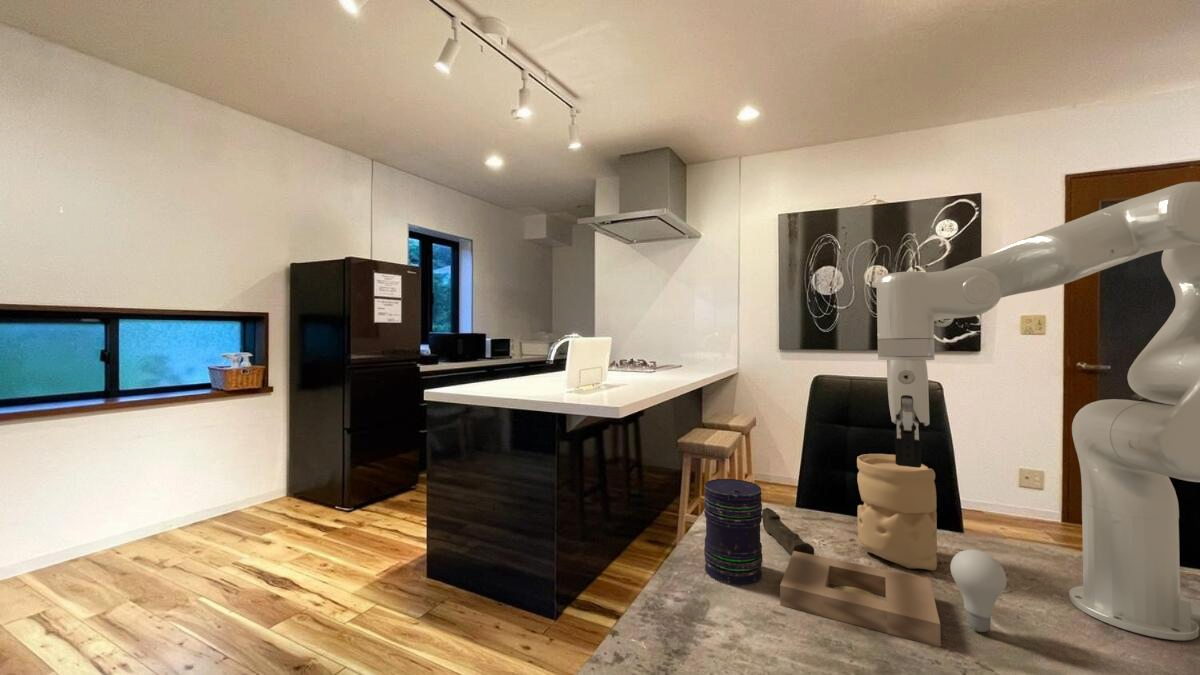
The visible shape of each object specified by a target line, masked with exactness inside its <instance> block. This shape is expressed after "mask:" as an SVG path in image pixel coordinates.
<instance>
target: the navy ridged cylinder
mask: <svg viewBox="0 0 1200 675" xmlns="http://www.w3.org/2000/svg"><path fill="white" fill-rule="evenodd" d="M704 490H705V491H704V500H703V504H704V506H703V507H704V511H703V512H704V518H705V537H704V547H703V548H704V549H703V550H704V551H703V554H704V561H705V565H704V571H706V572H705V573H706V575H707V574H708V575H709V576H710V578H711V579H712V578H713V580H714V579H715V580H714V581H716V580H717V581H716V582H718V581H719V583H722V584H724V585H725V584H726V585H729V586H733V587H734V586H735V587H736V586H737V587H745V586H747V587H748V586H752V585H755V584H757V583H759V582H760V581H761V580H762V578H763V572H762V568H763V553H762V552H763V551H762V550H763V548H762V547H763V546H762V543H761V523H762V522H763V519H762V510H763V503H762V488H761V486H760V485H758V484H757V483H754V482H751V481H747V480H742V479H735V478H734V479H733V478H716V479H711V480H708V481H706V482H705V483H704ZM708 575H707V576H708ZM709 576H708V577H709Z"/></svg>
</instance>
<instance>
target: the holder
mask: <svg viewBox="0 0 1200 675" xmlns="http://www.w3.org/2000/svg"><path fill="white" fill-rule="evenodd" d="M790 556H791V557H790V559H789V561H788V564H787V567H786V570H785V572H784V574H783V577H782V580H781V582H780V584H779V597H780V598H779V599H780V600H779V601H780V602H779V604H780V606H783V607H785V608H791V609H793V610H797V611H802V612H805V613H809V614H813V615H817V616H821V617H824V618H827V619H828V618H829V619H833V620H835V621H839V622H843V623H847V624H852V625H855V626H859V627H863V628H867V629H870V630H873V631H877V632H881V633H884V634H885V633H886V634H889V635H893V636H897V637H900V638H905V639H908V640H912V641H914V642H919V643H924V644H927V645H931V646H935V647H939V648H941V646H942V645H941V644H942V643H941V642H942V641H941V622H940V617H939V613H938V609H937V605H936V601H935V596H934V592H933V588H932V584H931V579H930V578H928V577H924V576H923V577H922V576H917V575H912V574H909V573H908V574H907V573H905V572H904V573H903V572H898V571H895V570H888V569H885V568H884V569H883V568H878V567H874V566H869V565H865V564H859V563H854V562H850V561H845V560H840V559H837V558H835V559H834V558H831V557H825V556H820V555H817V554H816V555H815V554H814V555H812V554H807V553H802V552H797V551H793V553H792V555H790ZM830 585H834V586H836V587H830ZM877 595H878V596H877ZM879 596H880V597H881V596H882V597H885V600H884V599H881V598H879Z"/></svg>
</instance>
